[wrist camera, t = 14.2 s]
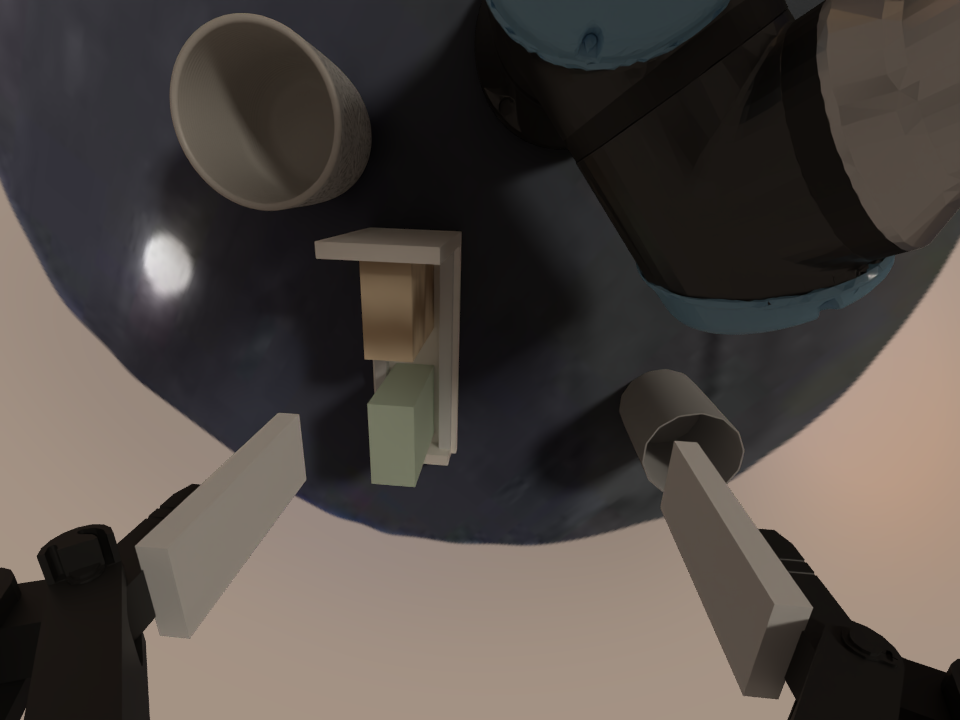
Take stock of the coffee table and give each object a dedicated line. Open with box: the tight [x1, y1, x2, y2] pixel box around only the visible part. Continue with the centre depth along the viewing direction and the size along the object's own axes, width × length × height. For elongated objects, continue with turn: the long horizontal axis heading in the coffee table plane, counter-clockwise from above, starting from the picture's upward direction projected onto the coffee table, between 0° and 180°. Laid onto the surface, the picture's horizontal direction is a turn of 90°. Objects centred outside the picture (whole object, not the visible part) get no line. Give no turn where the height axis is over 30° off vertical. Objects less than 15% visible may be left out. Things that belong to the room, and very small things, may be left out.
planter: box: [170, 13, 372, 211], centre depth 38 cm, size 12×12×11 cm
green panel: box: [367, 363, 434, 487], centre depth 45 cm, size 8×4×10 cm, turn 178°
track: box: [315, 227, 462, 466], centre depth 43 cm, size 24×9×13 cm, turn 178°
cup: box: [619, 369, 745, 492], centre depth 45 cm, size 8×8×10 cm
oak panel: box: [359, 261, 434, 362], centre depth 41 cm, size 8×4×10 cm, turn 178°
